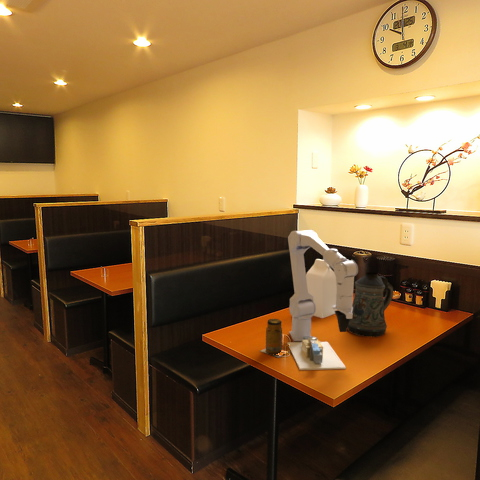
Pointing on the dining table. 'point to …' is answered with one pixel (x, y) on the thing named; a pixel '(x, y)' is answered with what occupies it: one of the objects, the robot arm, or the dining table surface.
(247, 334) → the dining table surface
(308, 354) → the valve
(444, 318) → the dining table surface
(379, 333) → the beer stein
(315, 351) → the lever
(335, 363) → the board
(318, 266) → the milk
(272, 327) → the condiment
